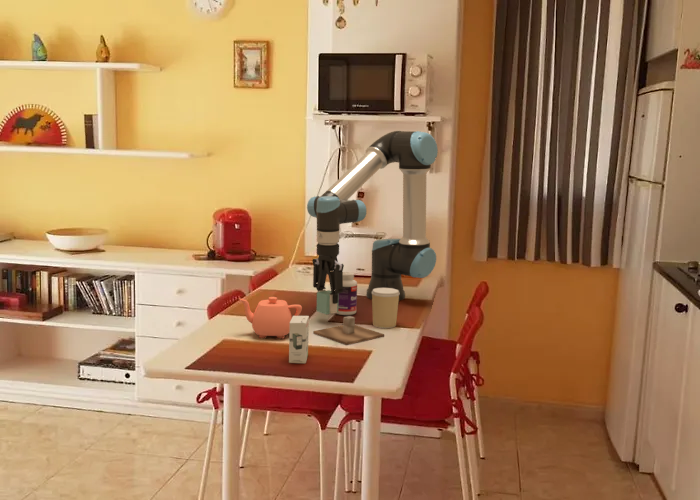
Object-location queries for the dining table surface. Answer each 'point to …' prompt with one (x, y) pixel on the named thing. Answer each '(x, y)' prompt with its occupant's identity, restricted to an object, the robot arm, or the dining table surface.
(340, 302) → the pill bottle
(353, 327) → the post stand
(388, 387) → the dining table surface
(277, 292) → the dining table surface
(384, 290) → the coffee cup
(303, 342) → the ink box
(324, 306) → the teal green block
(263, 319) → the teapot
